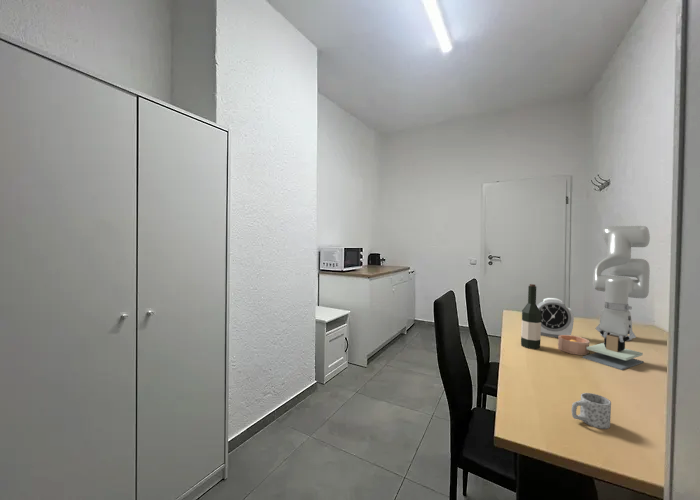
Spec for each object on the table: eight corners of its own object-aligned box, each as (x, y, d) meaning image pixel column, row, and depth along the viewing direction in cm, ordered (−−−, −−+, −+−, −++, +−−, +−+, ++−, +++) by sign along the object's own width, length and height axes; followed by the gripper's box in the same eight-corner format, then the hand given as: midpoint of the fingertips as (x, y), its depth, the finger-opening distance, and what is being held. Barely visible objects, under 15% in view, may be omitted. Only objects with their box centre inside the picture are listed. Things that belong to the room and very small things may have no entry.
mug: (596, 415, 91) (597, 392, 90) (616, 429, 84) (617, 405, 84) (563, 415, 90) (564, 392, 90) (580, 429, 84) (581, 405, 83)
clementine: (570, 346, 147) (571, 338, 147) (580, 349, 143) (580, 340, 143) (565, 347, 145) (566, 339, 145) (575, 350, 141) (575, 341, 141)
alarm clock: (532, 335, 167) (534, 298, 166) (531, 331, 174) (533, 295, 174) (573, 340, 159) (574, 301, 158) (570, 336, 166) (572, 298, 165)
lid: (603, 344, 143) (604, 329, 142) (642, 355, 130) (643, 338, 130) (586, 349, 136) (587, 333, 136) (625, 360, 124) (626, 343, 124)
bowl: (566, 344, 152) (567, 333, 152) (594, 352, 142) (594, 340, 141) (552, 348, 147) (553, 336, 147) (579, 356, 136) (580, 344, 136)
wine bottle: (544, 349, 145) (546, 285, 144) (526, 349, 145) (528, 285, 144) (534, 343, 153) (536, 283, 152) (517, 343, 153) (519, 283, 152)
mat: (604, 351, 143) (604, 350, 143) (643, 362, 131) (643, 361, 131) (582, 357, 135) (582, 356, 135) (621, 370, 123) (621, 368, 123)
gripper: (645, 310, 127) (643, 354, 127) (598, 302, 142) (596, 341, 142) (636, 311, 123) (634, 357, 124) (588, 303, 138) (587, 344, 139)
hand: (614, 348), depth 133 cm, fingers closed on lid, 4 cm apart
